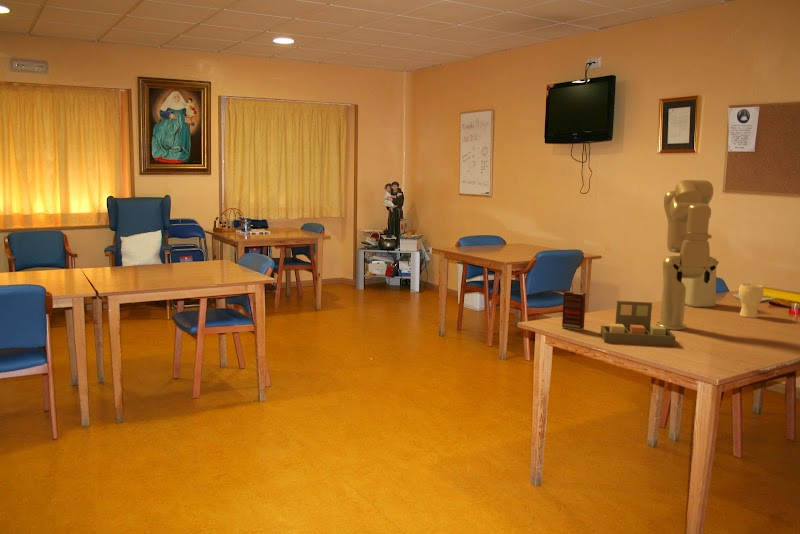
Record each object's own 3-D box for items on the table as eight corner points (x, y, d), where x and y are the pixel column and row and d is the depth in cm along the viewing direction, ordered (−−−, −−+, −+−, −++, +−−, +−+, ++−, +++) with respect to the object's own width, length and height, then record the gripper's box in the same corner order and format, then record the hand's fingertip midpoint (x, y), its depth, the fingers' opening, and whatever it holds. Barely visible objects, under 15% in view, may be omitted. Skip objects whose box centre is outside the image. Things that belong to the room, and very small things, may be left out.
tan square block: (609, 331, 287) (610, 323, 286) (622, 332, 286) (622, 324, 286) (611, 334, 282) (611, 326, 282) (624, 335, 281) (624, 326, 281)
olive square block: (649, 333, 285) (650, 325, 284) (662, 334, 284) (663, 326, 283) (652, 336, 280) (653, 328, 279) (665, 337, 279) (666, 329, 279)
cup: (766, 317, 332) (769, 286, 330) (749, 319, 328) (752, 287, 326) (747, 313, 342) (750, 282, 339) (731, 314, 338) (734, 283, 336)
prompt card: (614, 333, 295) (616, 300, 293) (648, 335, 293) (651, 302, 291) (615, 333, 294) (617, 301, 292) (649, 335, 292) (652, 303, 290)
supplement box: (584, 328, 301) (586, 292, 299) (580, 331, 297) (583, 294, 295) (564, 326, 306) (566, 290, 303) (561, 328, 302) (563, 292, 299)
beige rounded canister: (719, 307, 355) (724, 252, 350) (693, 307, 351) (697, 252, 347) (699, 301, 369) (704, 248, 365) (674, 301, 366) (679, 249, 361)
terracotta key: (629, 332, 286) (630, 324, 285) (642, 333, 285) (642, 325, 285) (631, 335, 281) (632, 327, 280) (644, 336, 280) (645, 328, 280)
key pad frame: (600, 335, 291) (601, 325, 291) (667, 338, 287) (668, 329, 287) (604, 342, 279) (605, 332, 279) (674, 346, 276) (675, 336, 275)
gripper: (717, 237, 265) (713, 281, 268) (670, 235, 268) (666, 279, 270) (723, 239, 258) (719, 284, 261) (675, 237, 260) (671, 282, 263)
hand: (692, 282), depth 265 cm, fingers open, 9 cm apart
